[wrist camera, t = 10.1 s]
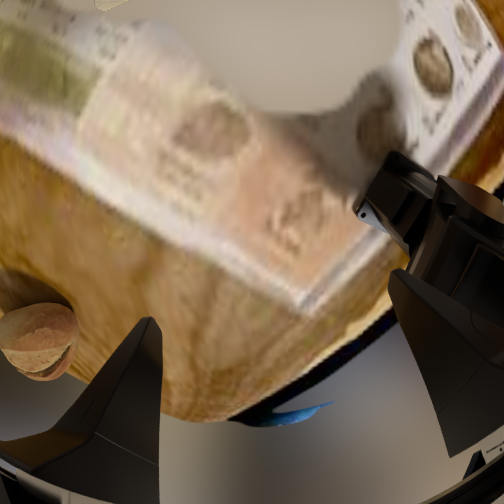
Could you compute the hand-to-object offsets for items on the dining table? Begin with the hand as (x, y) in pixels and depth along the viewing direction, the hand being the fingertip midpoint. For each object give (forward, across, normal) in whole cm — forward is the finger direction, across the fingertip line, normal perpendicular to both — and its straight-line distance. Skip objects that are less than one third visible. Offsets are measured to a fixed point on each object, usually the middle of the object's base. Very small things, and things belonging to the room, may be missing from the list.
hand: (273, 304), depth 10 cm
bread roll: (+12, +28, +10) cm, 32 cm away
